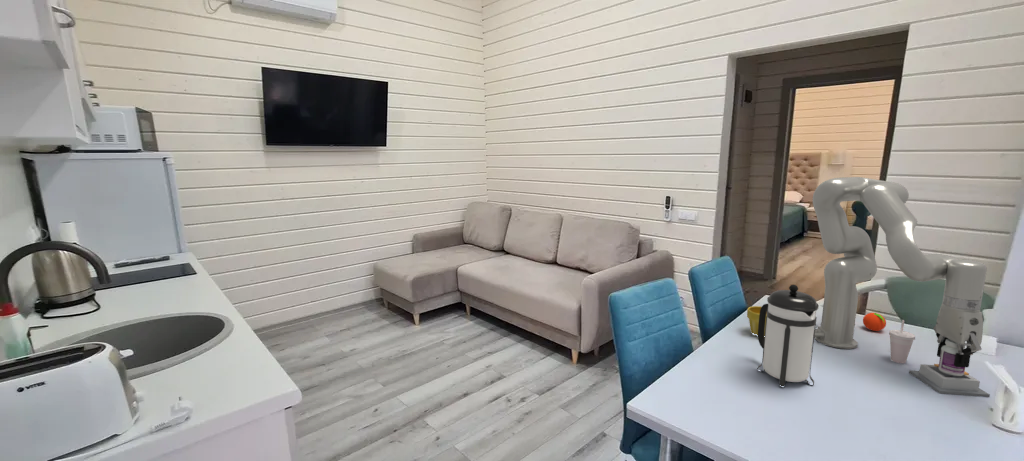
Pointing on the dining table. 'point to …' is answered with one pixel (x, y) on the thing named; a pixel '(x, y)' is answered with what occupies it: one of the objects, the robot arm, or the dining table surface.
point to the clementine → (874, 321)
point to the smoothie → (900, 344)
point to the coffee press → (788, 334)
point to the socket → (948, 381)
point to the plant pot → (754, 318)
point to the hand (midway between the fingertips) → (952, 361)
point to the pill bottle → (950, 359)
